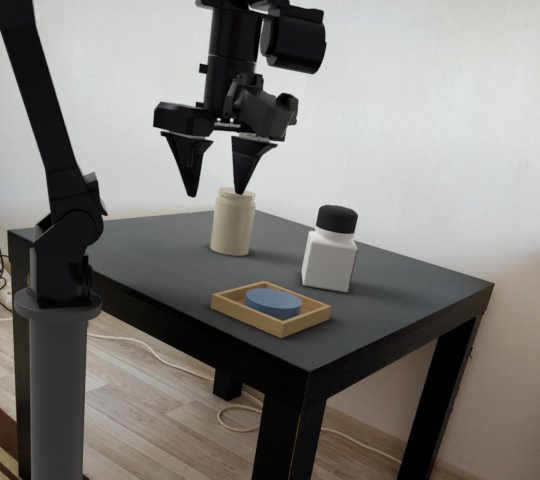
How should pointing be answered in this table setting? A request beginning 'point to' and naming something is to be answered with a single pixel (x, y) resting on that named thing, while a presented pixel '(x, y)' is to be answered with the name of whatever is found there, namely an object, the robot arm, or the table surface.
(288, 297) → the jar lid
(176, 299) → the table surface
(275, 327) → the tray
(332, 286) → the medicine bottle
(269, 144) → the robot arm
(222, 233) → the jar
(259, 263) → the table surface
